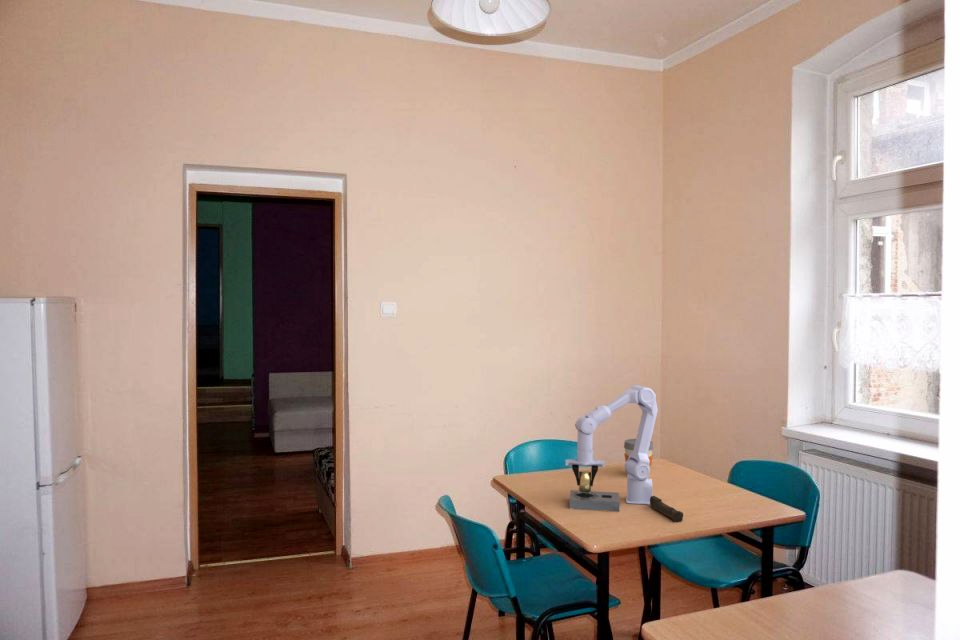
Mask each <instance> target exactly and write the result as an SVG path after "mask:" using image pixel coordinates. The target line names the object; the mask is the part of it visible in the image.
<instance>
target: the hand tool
mask: <svg viewBox="0 0 960 640" xmlns="http://www.w3.org/2000/svg"><path fill="white" fill-rule="evenodd" d="M649 505H650V508H651V509H652V510H653V511H654V512H655V511H656V512H660V513H661V514H663V515H664V516H666V517H668V518H670V520H672V522H673V523H681V522H682V521H683V520H684V513H683V512H682V511H680V510H677V509H675V508H674V507H671V506H670V505H668V504H666V503H664V502H663V501H662V499H661V498H659V497H657V496H655V495H653V496H651V497H650V504H649Z"/></svg>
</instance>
